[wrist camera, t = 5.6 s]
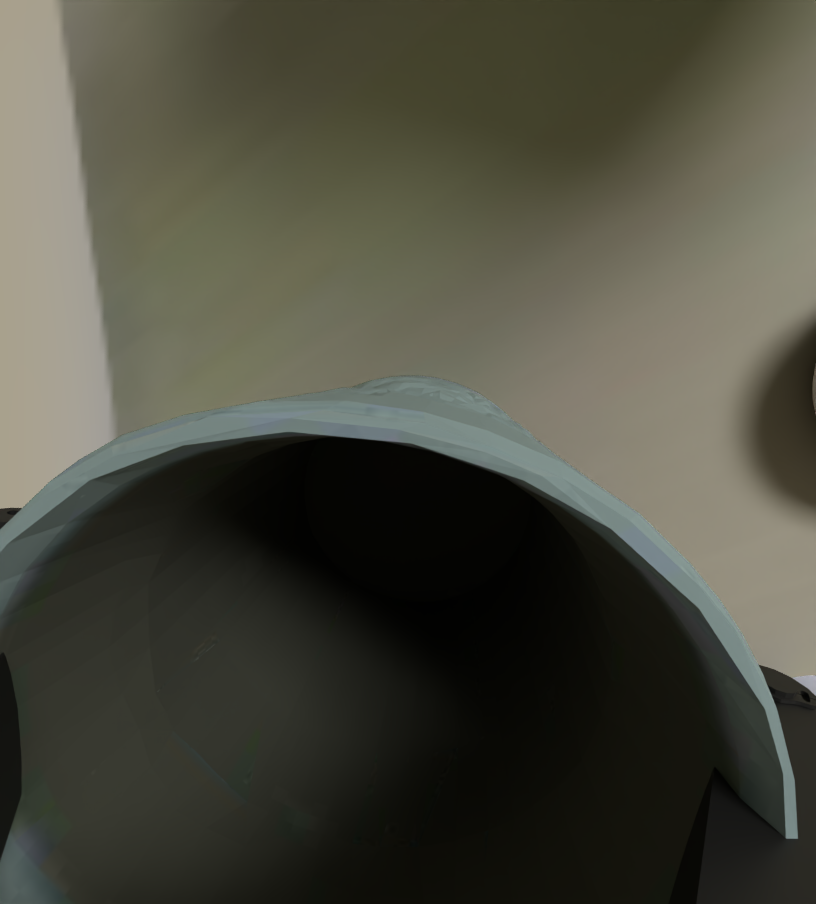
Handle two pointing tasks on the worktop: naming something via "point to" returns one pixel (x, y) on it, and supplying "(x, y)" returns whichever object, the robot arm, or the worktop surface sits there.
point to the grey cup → (363, 668)
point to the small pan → (814, 389)
